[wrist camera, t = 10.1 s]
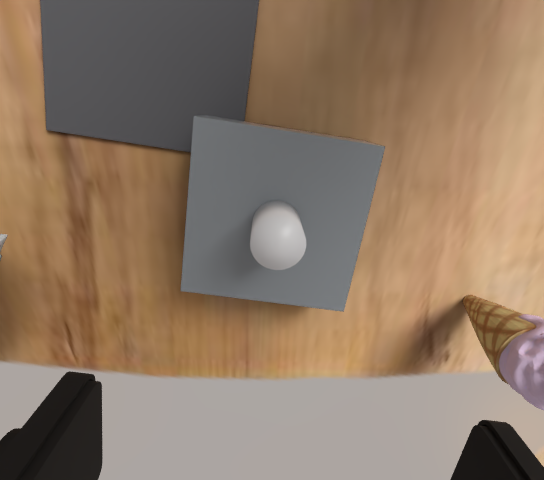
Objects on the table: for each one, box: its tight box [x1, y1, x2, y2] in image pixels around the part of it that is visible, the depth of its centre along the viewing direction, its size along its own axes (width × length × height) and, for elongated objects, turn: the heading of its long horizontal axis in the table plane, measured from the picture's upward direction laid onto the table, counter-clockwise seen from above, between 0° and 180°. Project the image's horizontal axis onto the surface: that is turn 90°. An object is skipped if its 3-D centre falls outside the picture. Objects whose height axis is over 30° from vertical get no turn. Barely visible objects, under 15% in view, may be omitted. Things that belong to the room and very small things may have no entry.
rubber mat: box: [40, 0, 259, 152], centre depth 31 cm, size 18×18×1 cm
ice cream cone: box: [463, 295, 544, 410], centre depth 32 cm, size 7×6×15 cm
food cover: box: [181, 115, 385, 312], centre depth 31 cm, size 15×15×11 cm
